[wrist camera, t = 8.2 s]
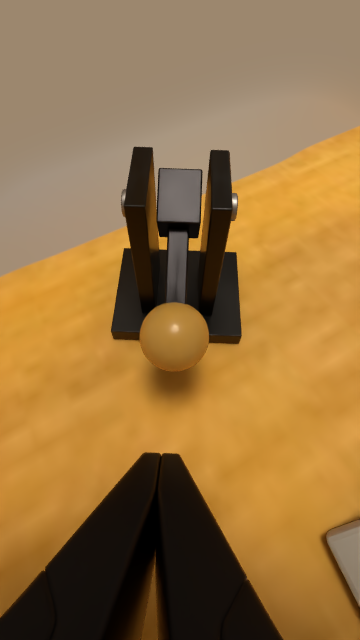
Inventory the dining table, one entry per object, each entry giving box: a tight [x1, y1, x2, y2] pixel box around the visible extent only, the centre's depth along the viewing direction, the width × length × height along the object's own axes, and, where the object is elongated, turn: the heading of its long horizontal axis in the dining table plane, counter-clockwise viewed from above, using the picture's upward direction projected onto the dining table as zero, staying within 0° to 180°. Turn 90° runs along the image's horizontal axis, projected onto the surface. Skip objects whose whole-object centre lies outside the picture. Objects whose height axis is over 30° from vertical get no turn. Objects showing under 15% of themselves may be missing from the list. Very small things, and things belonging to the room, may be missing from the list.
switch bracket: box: [111, 147, 242, 343], centre depth 21 cm, size 8×9×11 cm
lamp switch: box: [140, 168, 209, 371], centre depth 17 cm, size 10×4×4 cm, turn 177°
